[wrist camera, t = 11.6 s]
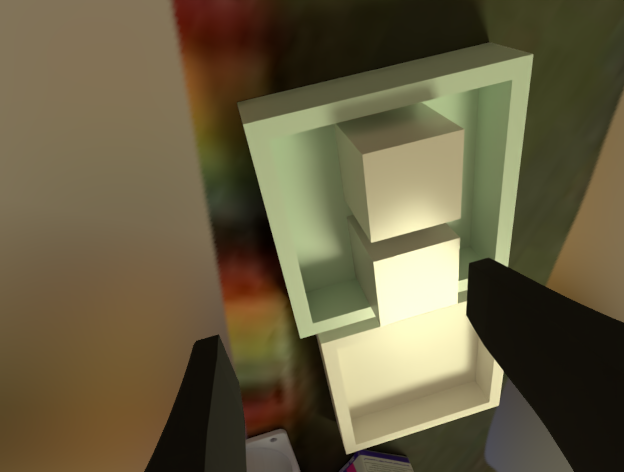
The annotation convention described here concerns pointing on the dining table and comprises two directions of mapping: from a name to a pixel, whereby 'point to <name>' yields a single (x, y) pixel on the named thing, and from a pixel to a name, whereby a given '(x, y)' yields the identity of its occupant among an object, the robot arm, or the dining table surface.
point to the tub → (327, 178)
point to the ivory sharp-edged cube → (401, 170)
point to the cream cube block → (406, 271)
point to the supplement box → (377, 462)
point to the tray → (407, 374)
